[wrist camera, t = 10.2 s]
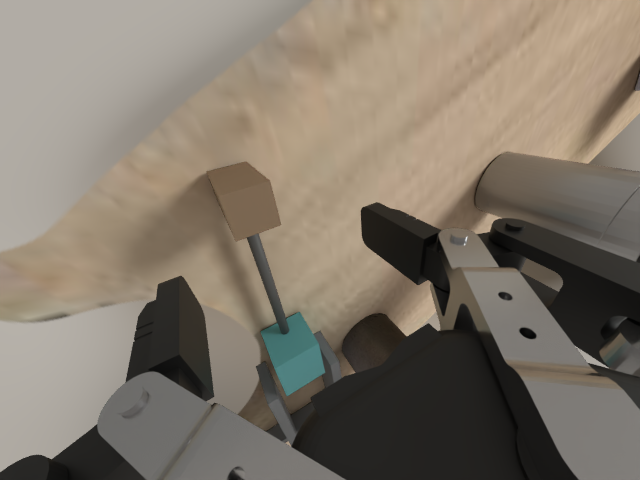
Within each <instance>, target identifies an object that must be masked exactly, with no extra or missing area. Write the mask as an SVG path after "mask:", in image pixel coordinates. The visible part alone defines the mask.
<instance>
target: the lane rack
mask: <svg viewBox="0 0 640 480" xmlns="http://www.w3.org/2000/svg"><path fill="white" fill-rule="evenodd" d="M314 337H315V338H316V340H317V342H318V343H319V347H320V352H321V356H322V360H323V365H324V369H325V373H324V374H322V377H323V381H324V385H325V388H327V387H328V386H330V385H332V384H333V383H335V382H336V381H338V380H339V379H341V378H342V377H341V370H340V364H339V360H338V358H337V357H336V355H335V354H334V352H333V350H332V349H331V347H330V346H329V344H328V343H327V341H326V339H325V338H324V336H323V335H322V333H321V332H320V331H319V332H317V333H315V334H314ZM256 368H257V371H258V374H259V378H260V381H261V384H262V387H263V390H264V394H265V397H266V400H267V403H268V406H269V407H270V409H271V411H272V413H273V414H274V416H275V418H276V420H277V422H278V423H279V424H277V425H276V426H274V427H273V428H271V429H269V430H268V431H266V432H267V433H269V434H270V435H272V436H274V437H275V438H277V439H279V440H280V441H282V442H284V443H286V442H287V441H289V443H290V444H291V446H292V444H293V441H294V439H295V437H296V435H297V433H298V431H299V429H300V427H301V426H302V424H303V423H304V421H305V420H306V419H307V417H308V416H309V415H310V413H311V412H312V411H313V410H314V406H313V403H312V402H311V403H309V404H307V405H306V406H304V407H303V408H301V409H300V410H298V411H297V412H295V413H294V414H292V415H290V413H289V411H288V409H287V407H286V405H285V403H284V400H283V398H282V396H281V394H280V392H279V390H278V388H277V386H276V384H275V381H274V379H273V377H272V375H271V373H270V371H269V369H268V367H267V365H266V363H265V362H263V363H261V364H259V365H258V366H256Z"/></svg>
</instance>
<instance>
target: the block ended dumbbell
mask: <svg viewBox="0 0 640 480" xmlns="http://www.w3.org/2000/svg"><path fill="white" fill-rule="evenodd" d="M207 174H208V177H209V179H210V182H211V184H212V187H213V189H214V192H215V194H216V197H217V199H218V202H219V204H220V207H221V209H222V212H223V214H224V216H225V218H226V221H227V223H228V225H229V227H230V230H231V232H232V234H233V236H234V239H235V241H239V240H241V239H244V238H247V240H248V243H249V245H250V248H251V251H252V254H253V256H254V259H255V262H256V265H257V267H258V270H259V273H260V276H261V279H262V281H263V284H264V287H265V290H266V292H267V295H268V298H269V301H270V304H271V306H272V309H273V312H274V315H275V317H276V320H277V324H275V325H273V326H271V327H269V328H267V329H265V330H263V331H261V334H262V337H263V340H264V342H265V345H266V348H267V350H268V353H269V355H270V358H271V361H272V363H273V366H274V369H275V371H276V373H277V375H278V378H279V380H280V382H281V384H282V387H283V389H284V391H285V393H286V396H289V395H290V394H292V393H293V392H295V391H297V390H298V389H300V388H301V387H303V386H305V385H306V384H308V383H309V382H311V381H313V380H314V379H316V378H317V377H319V376H321V375H322V374H324V373H325V369H324V365H323V360H322V356H321V352H320V347H319V343H318V342H317V340H316V338H315V337H314V335H313V333H312V332H311V330H310V328H309V327H308V325H307V323H306V322H305V320H304V318H303V317H302V315H301V313H300V312H298V313H296V314H294V315H292V316H290V317H288V318H286V317H285V314H284V311H283V308H282V305H281V302H280V299H279V296H278V292H277V289H276V286H275V283H274V280H273V277H272V274H271V271H270V268H269V265H268V262H267V259H266V255H265V252H264V249H263V246H262V243H261V240H260V237H259V234H258V233H261V232H263V231H266V230H269V229H272V228H274V227H277V226H280V225H281V222H280V218H279V214H278V210H277V206H276V202H275V198H274V195H273V191H272V187H271V183H270V181H269V180H268V179H267V178H266V177H265V176H263V175H262V174H261V173H260V172H258V171H257V170H256V169H255V168H253V167H252V166H251V165H250V164H249V163H247V162H243V163H239V164H235V165H231V166H227V167H223V168H219V169H215V170H211V171H207Z"/></svg>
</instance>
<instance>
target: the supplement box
mask: <svg viewBox="0 0 640 480" xmlns="http://www.w3.org/2000/svg"><path fill="white" fill-rule="evenodd" d="M639 90H640V74H639V78H638V81H637V84H636V87H635V91H639Z"/></svg>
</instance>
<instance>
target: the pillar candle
mask: <svg viewBox="0 0 640 480" xmlns="http://www.w3.org/2000/svg"><path fill="white" fill-rule="evenodd" d="M406 337H407V336H406V335H405V334H404V333H403V332H402V331H401V330H400V329H399V328H398V327H397V326H396V325H395V324H394V323H393V322H392V321H391V320H390V319H389V318H388V317H387V316H386V315H385V314H380V313H379V314H374V315H370V316H368V317H366V318H364V319H363V320H362V321H360V322H359V323H358V324H357V325H355V326H354V327H353V329H352V330H351V331H350V332H349V333H348V334H347V336H346V338H345V339H344V342H343V346H342V351H343V354H344V356H345V357H346V359H347V360H348V362H349V363H350V365H351V366H352V368H353V369H354V371H355V372H356V373H357V372H361V371H364V370H367V369H371V368H374V367H377V366H380V365H382V364H383V363H384V362H385V361H386V359H387V358H388V357H389V356H390V355H391V353H392V352H393V351H394V350H395V349H396V347H397V346H398V345H399V344H400V343H401V341H402V340H403V339H404V338H406Z"/></svg>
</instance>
